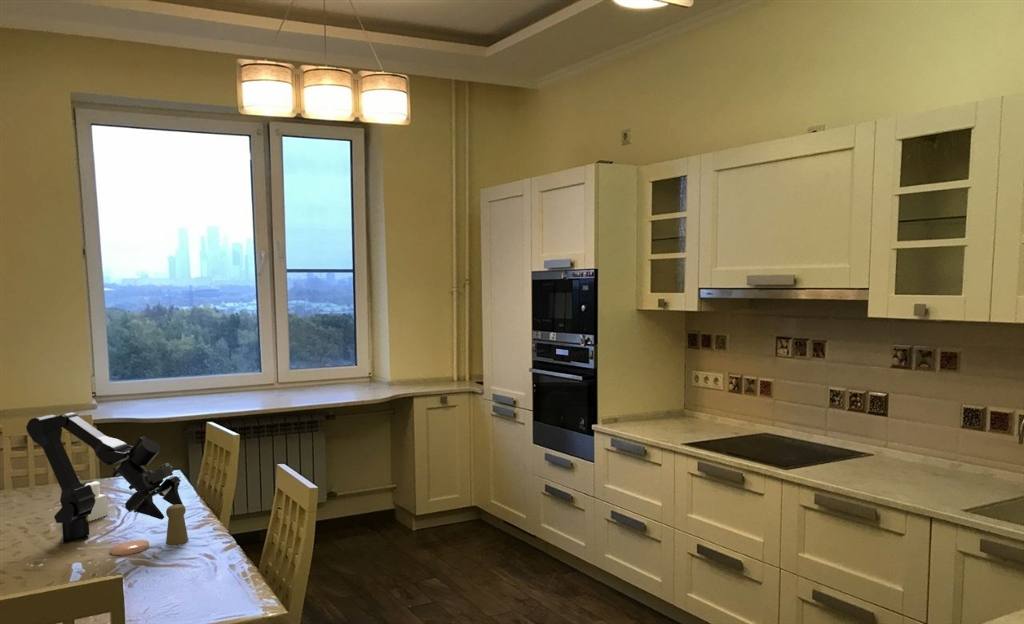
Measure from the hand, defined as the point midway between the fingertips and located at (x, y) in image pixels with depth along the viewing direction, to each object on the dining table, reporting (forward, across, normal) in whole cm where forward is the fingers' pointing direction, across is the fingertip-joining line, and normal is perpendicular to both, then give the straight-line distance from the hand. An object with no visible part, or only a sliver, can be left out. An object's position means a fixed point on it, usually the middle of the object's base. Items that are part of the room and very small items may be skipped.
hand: (173, 513), depth 207 cm
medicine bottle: (-24, +18, +36) cm, 48 cm away
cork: (+7, 0, +6) cm, 9 cm away
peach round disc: (-1, -6, +13) cm, 14 cm away
